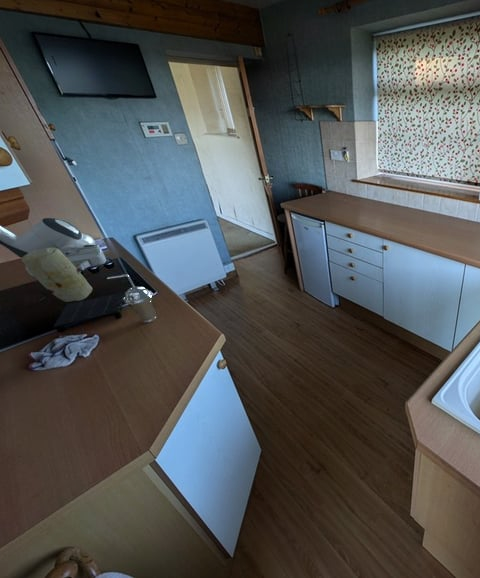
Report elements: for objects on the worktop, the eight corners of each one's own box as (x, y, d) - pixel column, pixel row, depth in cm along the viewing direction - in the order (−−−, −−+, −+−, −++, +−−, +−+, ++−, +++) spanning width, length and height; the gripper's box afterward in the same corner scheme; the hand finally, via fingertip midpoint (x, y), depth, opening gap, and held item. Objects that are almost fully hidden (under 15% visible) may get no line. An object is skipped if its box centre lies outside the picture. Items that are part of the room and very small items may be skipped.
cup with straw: (159, 323, 108) (136, 276, 97) (130, 328, 105) (103, 280, 95) (166, 310, 114) (144, 265, 104) (138, 315, 112) (114, 269, 102)
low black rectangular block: (57, 333, 103) (52, 326, 101) (71, 310, 114) (66, 304, 113) (121, 318, 110) (118, 311, 109) (128, 298, 122) (124, 291, 121)
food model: (92, 286, 110) (54, 241, 96) (98, 294, 107) (60, 249, 93) (58, 299, 104) (13, 253, 90) (63, 308, 101) (18, 263, 88)
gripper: (30, 254, 104) (13, 270, 94) (103, 243, 113) (95, 257, 102) (40, 270, 107) (25, 287, 97) (111, 258, 116) (104, 272, 106)
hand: (62, 271), depth 100 cm, fingers closed on food model, 8 cm apart
